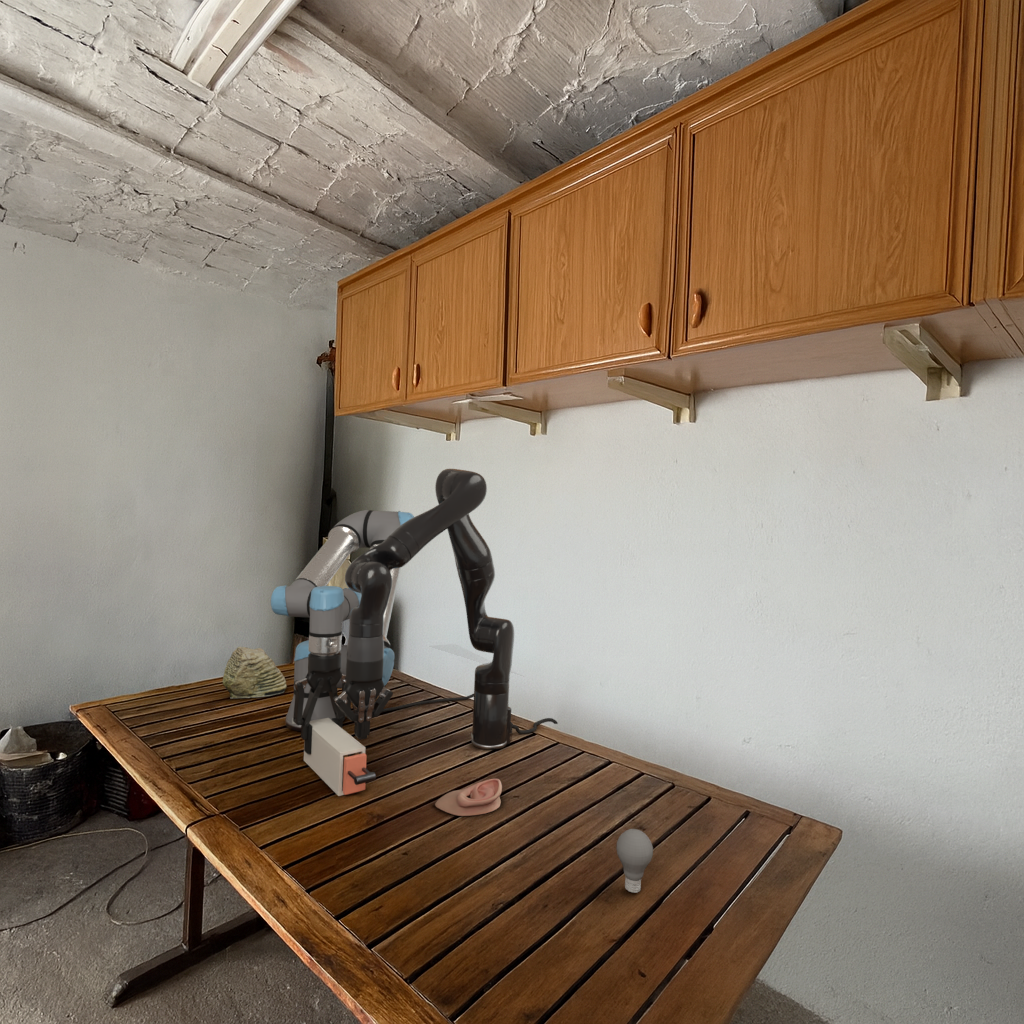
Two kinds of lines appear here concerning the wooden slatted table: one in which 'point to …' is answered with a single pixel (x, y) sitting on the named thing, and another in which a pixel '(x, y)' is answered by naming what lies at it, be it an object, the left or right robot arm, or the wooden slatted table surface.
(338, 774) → the cabinet
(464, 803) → the anatomical model
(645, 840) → the light bulb
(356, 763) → the drawer
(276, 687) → the fossil
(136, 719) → the wooden slatted table surface
